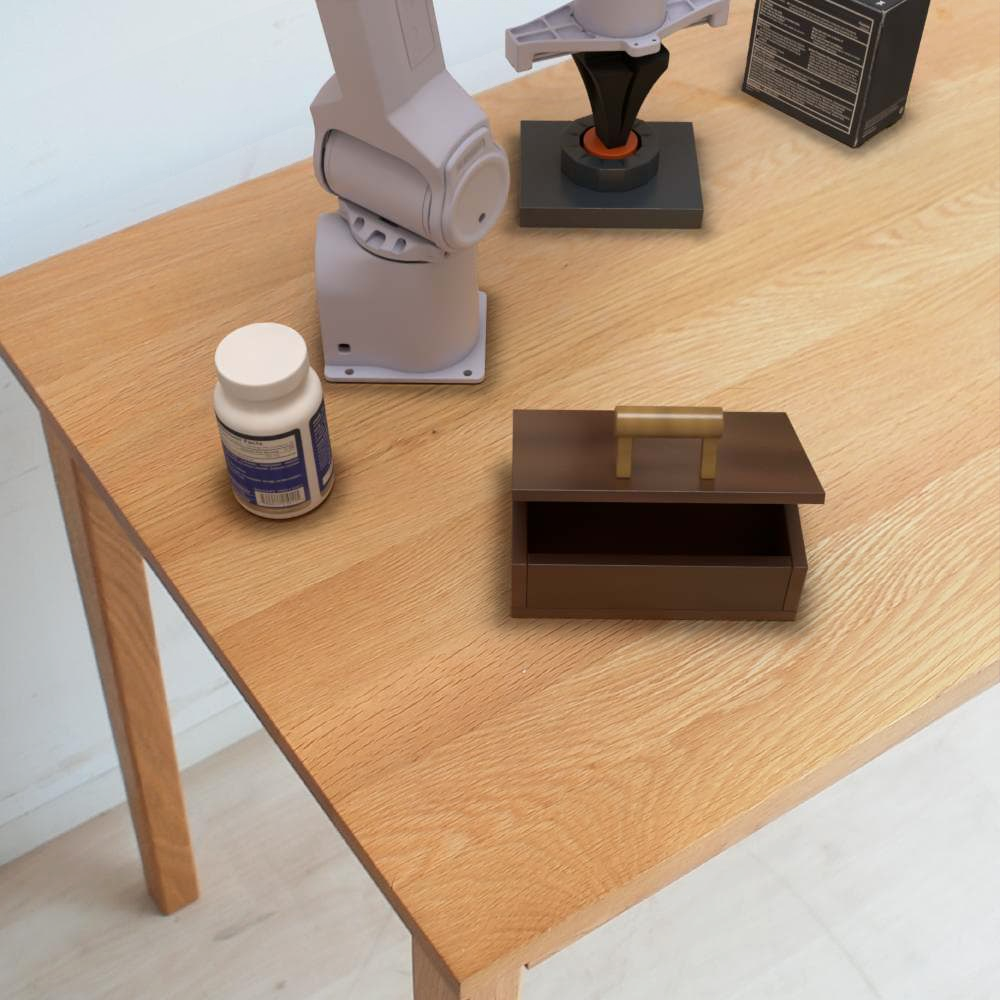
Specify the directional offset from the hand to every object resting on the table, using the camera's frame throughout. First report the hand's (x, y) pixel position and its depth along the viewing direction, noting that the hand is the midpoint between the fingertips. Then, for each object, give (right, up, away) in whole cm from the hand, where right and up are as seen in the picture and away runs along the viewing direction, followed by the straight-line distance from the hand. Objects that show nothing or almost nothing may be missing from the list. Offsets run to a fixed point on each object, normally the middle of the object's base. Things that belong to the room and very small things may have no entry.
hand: (610, 139), depth 96 cm
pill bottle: (-19, -23, -16) cm, 34 cm away
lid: (+1, -22, -24) cm, 32 cm away
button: (0, -1, +1) cm, 2 cm away
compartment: (+1, -26, -19) cm, 32 cm away
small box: (+16, +5, +9) cm, 19 cm away
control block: (0, -2, +3) cm, 3 cm away
